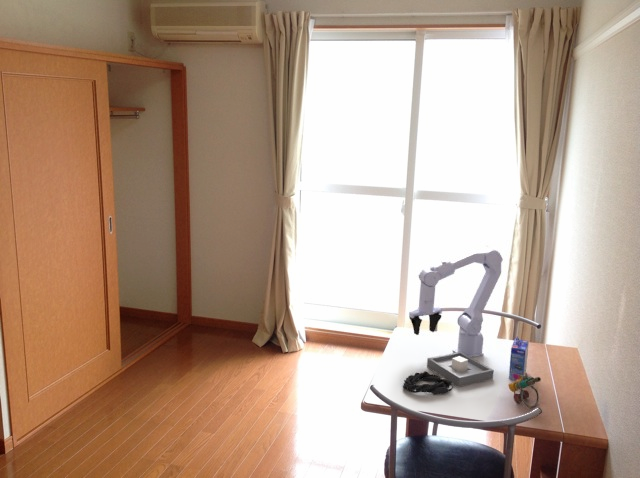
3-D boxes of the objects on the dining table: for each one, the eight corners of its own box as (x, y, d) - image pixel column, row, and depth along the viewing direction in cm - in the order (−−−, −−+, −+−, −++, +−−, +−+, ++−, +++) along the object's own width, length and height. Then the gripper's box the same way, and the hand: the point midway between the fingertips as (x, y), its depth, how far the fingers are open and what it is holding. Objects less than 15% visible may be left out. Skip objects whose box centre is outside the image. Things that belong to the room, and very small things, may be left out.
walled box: (459, 360, 223) (460, 351, 222) (492, 379, 207) (493, 370, 207) (426, 366, 216) (427, 358, 215) (458, 387, 200) (459, 377, 199)
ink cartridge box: (510, 368, 217) (514, 332, 214) (526, 371, 215) (530, 335, 212) (507, 378, 208) (511, 341, 205) (523, 382, 206) (527, 344, 203)
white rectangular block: (457, 369, 214) (459, 355, 213) (466, 373, 211) (467, 359, 210) (451, 372, 212) (452, 358, 211) (459, 376, 209) (461, 362, 208)
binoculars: (530, 403, 194) (518, 375, 196) (554, 399, 188) (541, 369, 190) (516, 412, 188) (504, 382, 190) (539, 407, 182) (526, 377, 184)
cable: (409, 399, 191) (410, 387, 190) (394, 380, 204) (395, 369, 203) (456, 394, 195) (457, 383, 194) (438, 377, 208) (439, 365, 207)
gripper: (434, 294, 228) (432, 326, 231) (405, 298, 222) (403, 331, 224) (446, 299, 222) (443, 332, 225) (416, 304, 216) (414, 337, 218)
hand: (424, 332), depth 224 cm, fingers open, 7 cm apart
